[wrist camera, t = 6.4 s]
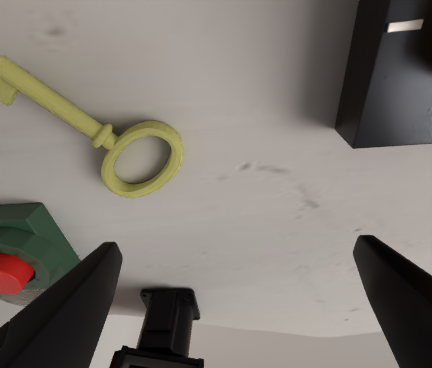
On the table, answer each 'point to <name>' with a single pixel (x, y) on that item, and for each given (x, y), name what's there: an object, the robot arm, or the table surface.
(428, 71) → the black flat block
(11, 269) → the button
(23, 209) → the button block
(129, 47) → the table surface
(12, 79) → the key
